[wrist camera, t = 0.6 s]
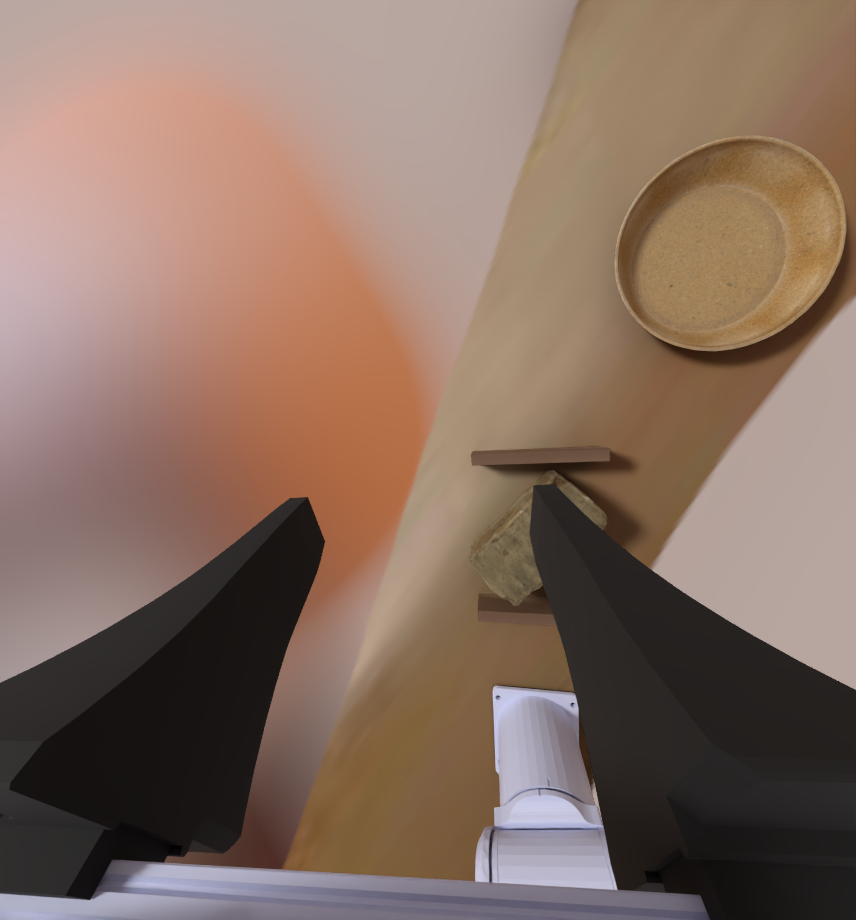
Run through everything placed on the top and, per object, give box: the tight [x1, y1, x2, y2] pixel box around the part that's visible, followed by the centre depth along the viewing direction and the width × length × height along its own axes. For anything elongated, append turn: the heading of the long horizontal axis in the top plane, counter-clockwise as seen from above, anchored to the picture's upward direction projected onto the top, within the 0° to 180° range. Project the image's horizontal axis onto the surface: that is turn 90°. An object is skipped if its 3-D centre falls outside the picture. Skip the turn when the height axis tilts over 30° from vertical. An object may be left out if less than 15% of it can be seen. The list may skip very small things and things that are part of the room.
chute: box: [471, 446, 610, 626], centre depth 29 cm, size 15×11×3 cm
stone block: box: [469, 470, 608, 606], centre depth 29 cm, size 6×12×5 cm, turn 139°
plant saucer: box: [615, 136, 846, 351], centre depth 25 cm, size 15×15×3 cm
